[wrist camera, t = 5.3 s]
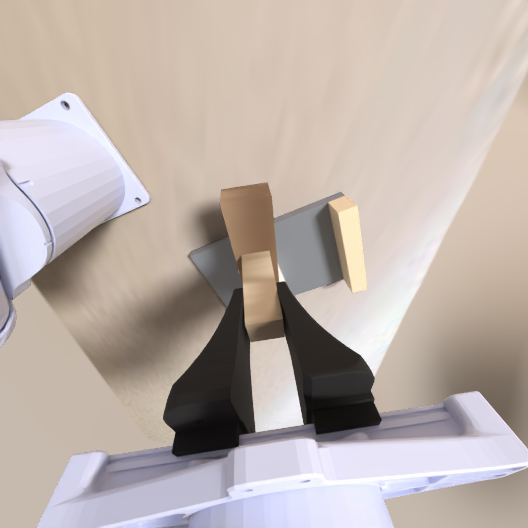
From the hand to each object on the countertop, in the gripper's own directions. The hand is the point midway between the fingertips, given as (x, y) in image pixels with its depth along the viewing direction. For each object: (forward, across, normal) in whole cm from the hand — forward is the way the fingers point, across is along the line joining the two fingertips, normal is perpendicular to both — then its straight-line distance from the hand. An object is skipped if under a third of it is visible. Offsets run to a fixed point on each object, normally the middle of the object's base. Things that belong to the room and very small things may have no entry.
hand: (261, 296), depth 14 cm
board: (+9, -2, +4) cm, 10 cm away
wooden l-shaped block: (+5, 0, -1) cm, 5 cm away
